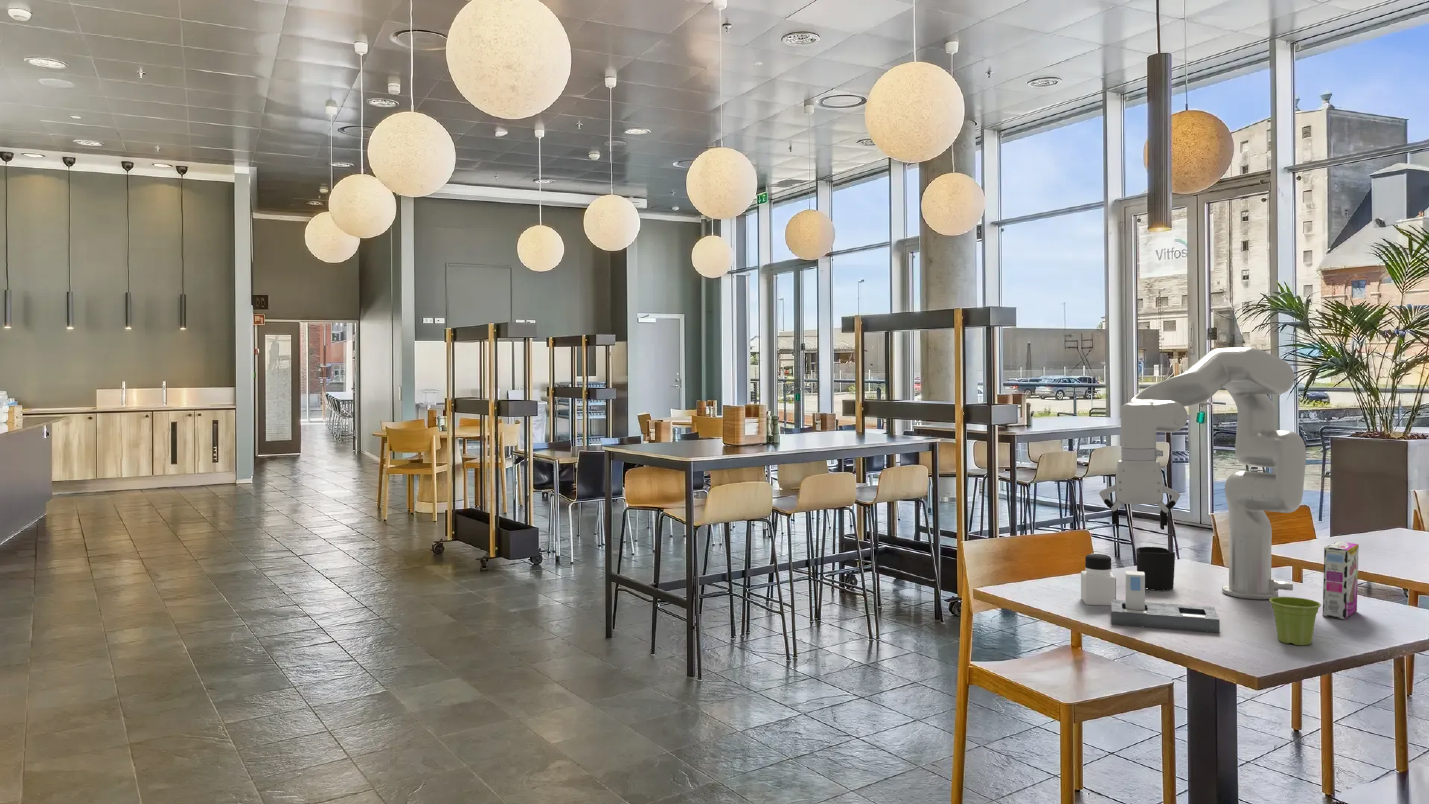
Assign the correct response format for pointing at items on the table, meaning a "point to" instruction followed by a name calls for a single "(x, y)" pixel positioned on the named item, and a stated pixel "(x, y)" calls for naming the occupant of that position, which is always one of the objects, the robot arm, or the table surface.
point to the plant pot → (1294, 619)
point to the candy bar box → (1340, 580)
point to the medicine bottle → (1098, 580)
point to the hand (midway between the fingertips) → (1139, 527)
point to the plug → (1135, 590)
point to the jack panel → (1167, 616)
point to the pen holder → (1156, 567)
